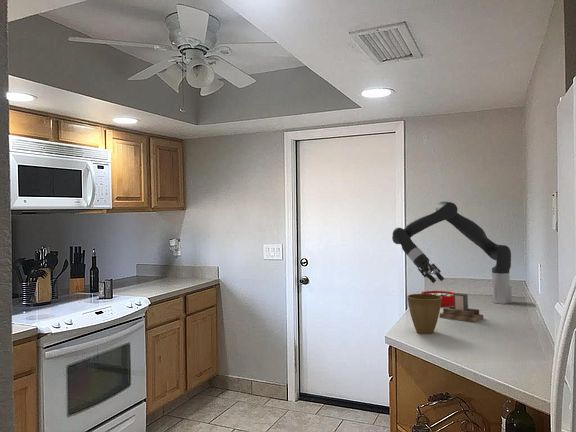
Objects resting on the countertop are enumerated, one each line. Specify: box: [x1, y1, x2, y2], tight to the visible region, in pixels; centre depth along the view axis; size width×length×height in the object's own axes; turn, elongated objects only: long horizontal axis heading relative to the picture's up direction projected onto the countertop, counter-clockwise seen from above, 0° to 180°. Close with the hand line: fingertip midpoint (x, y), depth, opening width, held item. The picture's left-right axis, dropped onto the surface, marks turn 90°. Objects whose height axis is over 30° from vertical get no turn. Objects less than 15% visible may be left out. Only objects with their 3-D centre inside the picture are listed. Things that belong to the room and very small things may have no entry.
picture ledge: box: [439, 306, 484, 323], centre depth 236 cm, size 18×10×4 cm, turn 44°
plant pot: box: [407, 293, 442, 335], centre depth 212 cm, size 15×15×16 cm
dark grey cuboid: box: [454, 292, 469, 311], centre depth 236 cm, size 6×4×10 cm, turn 45°
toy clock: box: [420, 290, 457, 308], centre depth 276 cm, size 20×6×20 cm
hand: (438, 280), depth 245 cm, fingers open, 8 cm apart
